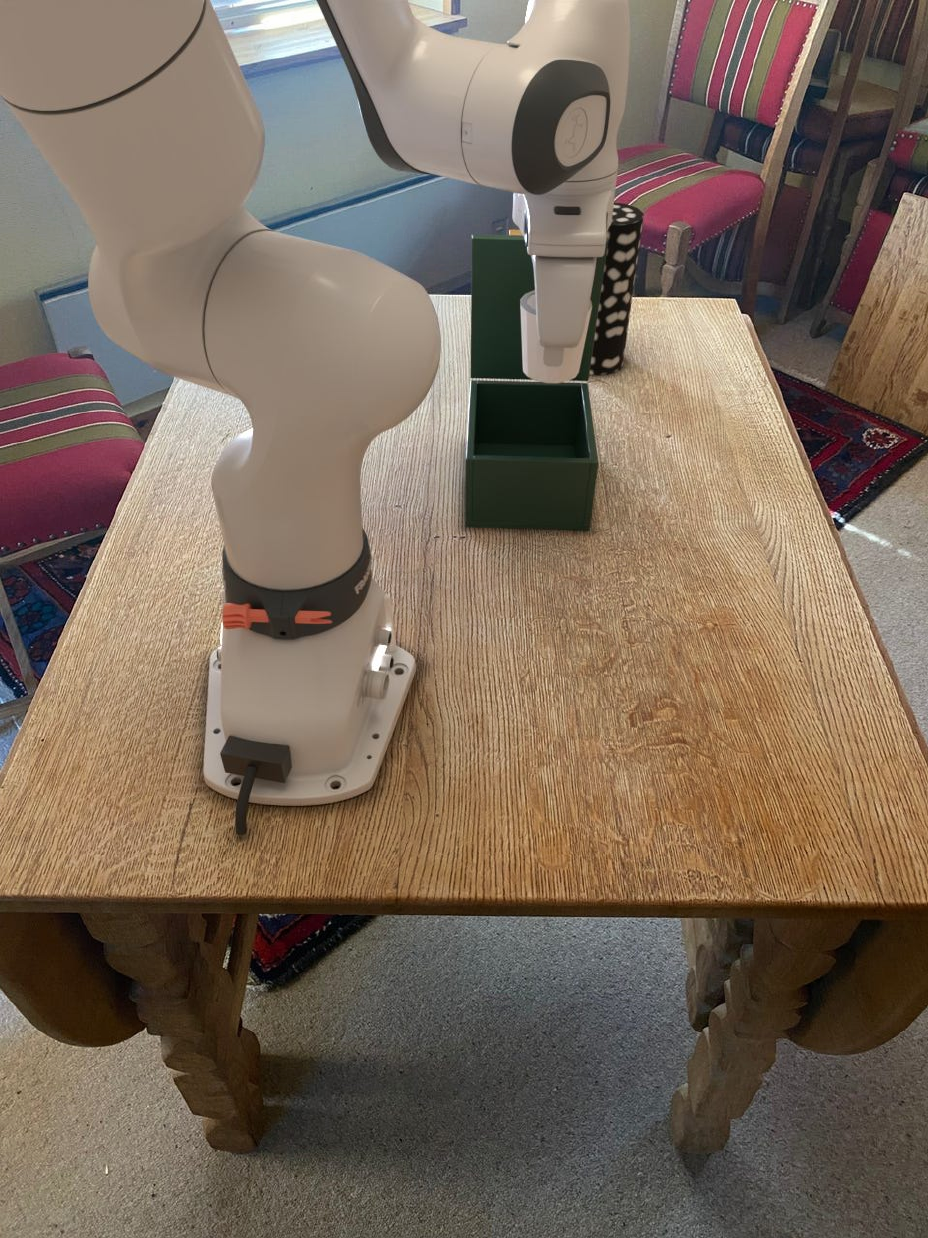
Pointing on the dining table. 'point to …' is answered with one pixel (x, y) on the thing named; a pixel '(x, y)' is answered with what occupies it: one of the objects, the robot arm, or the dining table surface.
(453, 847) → the dining table surface
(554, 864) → the dining table surface
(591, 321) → the lid
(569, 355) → the shot glass
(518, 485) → the chest
